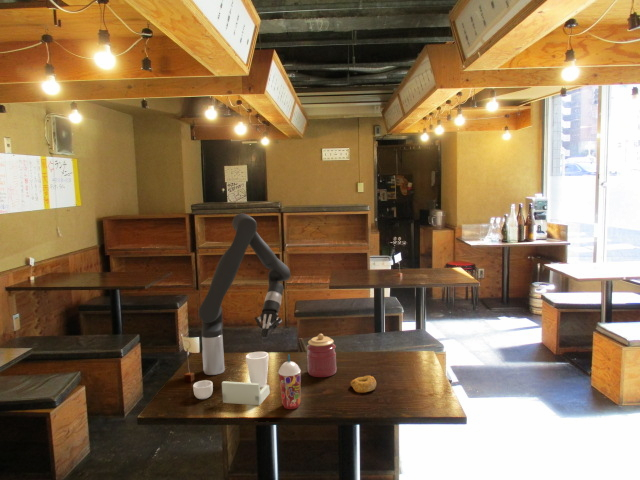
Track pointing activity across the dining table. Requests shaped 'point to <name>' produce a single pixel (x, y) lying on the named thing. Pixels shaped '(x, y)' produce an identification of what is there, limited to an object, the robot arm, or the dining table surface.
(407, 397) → the dining table surface
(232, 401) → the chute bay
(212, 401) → the dining table surface
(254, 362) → the foam cup
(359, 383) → the bagel
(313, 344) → the canister
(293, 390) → the smoothie
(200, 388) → the teacup
